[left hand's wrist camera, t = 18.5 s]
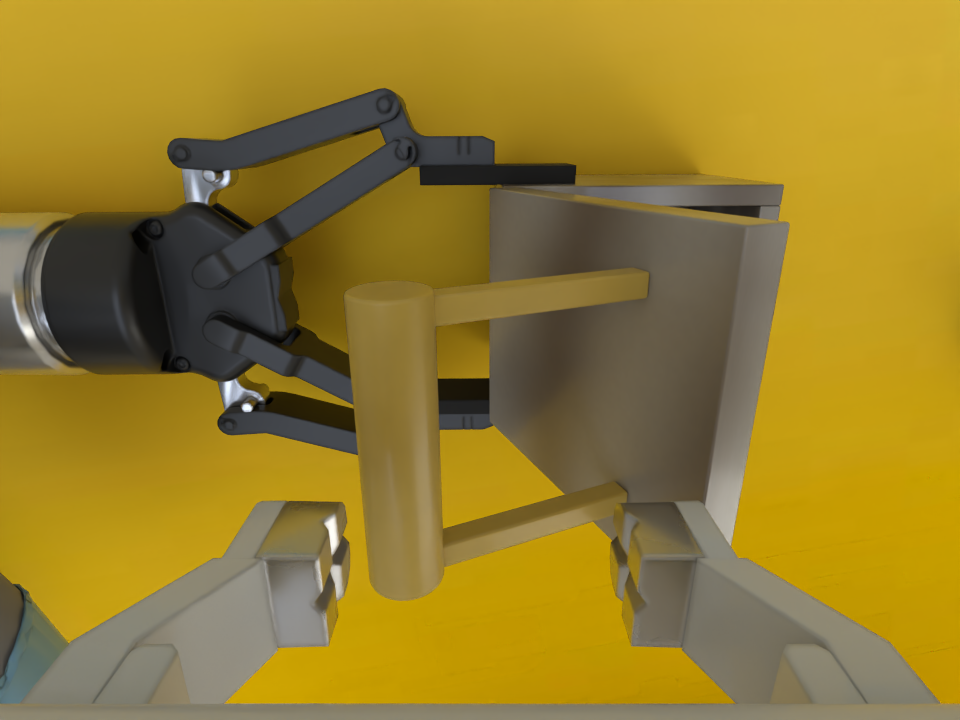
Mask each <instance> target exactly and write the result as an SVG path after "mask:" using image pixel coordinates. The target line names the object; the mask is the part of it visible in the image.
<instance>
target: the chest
mask: <svg viewBox="0 0 960 720" xmlns="http://www.w3.org/2000/svg"><path fill="white" fill-rule="evenodd" d="M505 187H521V188H528V189H536V190H544V191H552V192H560V193H567V194H575V195H583V196H591V197H598V198H606V199H614V200H622V201H629V202H637V203H645V204H653V205H660V206H668V207H676V208H684V209H691V210H699V211H707V212H715V213H722V214H730V215H738V216H746V217H753V218H761V219H769V220H777V221H778V217H779V211H780V206H779V205H780V204H781V199H782V194H783V188H784V185H783V184H776V183H768V182H760V181H752V180H744V179H736V178H729V177H721V176H713V175H705V174H641V175H576V179H575V184H502V185H496V188H505Z"/></svg>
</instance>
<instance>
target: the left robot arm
mask: <svg viewBox="0 0 960 720" xmlns="http://www.w3.org/2000/svg"><path fill="white" fill-rule="evenodd" d="M346 524H347V518H346V510H345V506H344V504H343V502H313V501H289V502H288V501H261V502H259V503H257V504H256V505H255V507H254V508H253V510H252V511H251V513H250V515H249V516H248V518H247V519H246V521H245V522H244V524H243V526H242V527H241V529H240V530H239V532H238V533H237V535H236V537H235V538H234V540H233V541H232V543H231V544H230V546H229V548H228V549H227V551H226V552H225V554H224V555H223V557H222V558H213V559H211V560H209V561H208V562H206V563H204V564H203V565H201V566H199V567H198V568H196V569H194V570H192V571H191V572H189V573H187V574H186V575H184V576H182V577H180V578H179V579H177V580H175V581H174V582H172V583H170V584H168V585H167V586H165V587H163V588H162V589H160V590H158V591H156V592H155V593H153V594H151V595H150V596H148V597H146V598H144V599H143V600H141V601H139V602H138V603H136V604H134V605H133V606H131V607H129V608H127V609H126V610H124V611H122V612H121V613H119V614H117V615H115V616H114V617H112V618H110V619H109V620H107V621H105V622H103V623H102V624H100V625H98V626H97V627H95V628H93V629H91V630H90V631H88V632H86V633H85V634H83V635H81V636H80V637H78V638H76V639H74V640H73V641H71V642H70V643H69V645H68V646H67V647H66V648H65V649H64V651H63V652H62V653H61V654H60V655H59V657H58V658H57V659H56V660H55V661H54V663H53V664H52V665H51V666H50V667H49V669H48V670H47V671H46V672H45V673H44V675H43V676H42V677H41V678H40V679H39V681H38V682H37V683H36V684H35V685H34V687H33V688H32V689H31V690H30V691H29V693H28V694H27V695H26V696H25V697H24V699H23V700H22V701H21V702H20V703H19V704H0V720H960V704H941V703H940V702H939V701H938V700H937V699H936V697H935V696H934V695H933V694H932V692H931V691H930V690H929V689H928V688H927V686H926V685H925V684H924V683H923V682H922V680H921V679H920V678H919V677H918V676H917V674H916V673H915V672H914V671H913V670H912V668H911V667H910V666H909V665H908V664H907V662H906V661H905V660H904V659H903V657H902V656H901V655H900V654H899V653H898V651H897V650H896V649H895V648H894V647H893V645H892V644H891V643H890V642H889V641H887V640H885V639H883V638H882V637H880V636H878V635H877V634H875V633H873V632H872V631H870V630H868V629H866V628H865V627H863V626H861V625H860V624H858V623H856V622H854V621H853V620H851V619H849V618H848V617H846V616H844V615H843V614H841V613H839V612H837V611H836V610H834V609H832V608H831V607H829V606H827V605H826V604H824V603H822V602H820V601H819V600H817V599H815V598H814V597H812V596H810V595H808V594H807V593H805V592H803V591H802V590H800V589H798V588H797V587H795V586H793V585H791V584H790V583H788V582H786V581H785V580H783V579H781V578H779V577H778V576H776V575H774V574H773V573H771V572H769V571H768V570H766V569H764V568H762V567H761V566H759V565H757V564H756V563H754V562H752V561H751V560H749V559H747V558H738V557H737V555H736V554H735V552H734V551H733V549H732V548H731V546H730V545H729V543H728V541H727V540H726V538H725V537H724V535H723V534H722V532H721V531H720V529H719V527H718V526H717V524H716V523H715V521H714V520H713V518H712V517H711V515H710V514H709V512H708V510H707V509H706V507H705V506H704V504H703V503H702V502H700V501H671V502H638V503H616V506H615V509H614V517H613V524H614V527H615V530H616V532H617V536H616V538H615V539H614V540H613V541H612V542H611V549H610V570H611V578H612V584H613V588H614V591H615V595H616V596H617V597H618V598H619V599H620V600H622V601H623V608H622V618H623V621H624V624H625V627H626V630H627V634H628V637H629V640H630V643H631V646H644V647H679V648H682V650H683V651H684V652H685V653H686V654H687V655H688V656H689V657H690V658H691V659H692V660H693V661H694V662H695V663H696V664H697V665H698V666H699V667H700V668H701V669H702V670H703V671H704V672H705V673H706V674H707V675H708V676H709V677H710V678H711V679H712V680H713V681H714V682H715V683H716V684H717V685H718V686H719V687H720V688H721V689H722V690H723V691H724V692H725V693H726V694H727V695H728V696H729V697H730V698H731V699H732V700H733V701H734V702H735V703H736V704H224V703H225V702H226V701H227V700H228V699H229V698H230V697H231V696H232V695H233V694H234V693H235V692H236V691H237V690H238V689H239V688H240V687H241V686H242V685H243V684H244V683H245V682H246V681H247V680H248V679H249V678H250V677H251V676H252V675H253V674H254V673H255V672H256V671H257V670H258V669H259V668H260V667H262V666H263V665H264V664H265V663H266V662H267V661H268V660H269V659H270V658H271V657H272V656H273V655H274V654H275V653H276V652H277V651H278V649H277V648H280V647H315V646H329V643H330V640H331V637H332V634H333V630H334V627H335V624H336V621H337V618H338V608H337V601H338V600H340V599H341V598H342V597H343V596H344V594H345V591H346V587H347V584H348V577H349V570H350V548H349V542H348V541H347V540H346V539H345V538H344V536H343V532H344V530H345V527H346Z"/></svg>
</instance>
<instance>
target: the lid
mask: <svg viewBox="0 0 960 720" xmlns="http://www.w3.org/2000/svg"><path fill="white" fill-rule="evenodd" d="M789 226H790V225H789V223H788V222H784V221H777V220H769V219H761V218H753V217H746V216H738V215H730V214H722V213H715V212H707V211H699V210H691V209H684V208H676V207H668V206H660V205H653V204H645V203H637V202H629V201H622V200H614V199H606V198H598V197H591V196H583V195H575V194H567V193H560V192H552V191H544V190H536V189H528V188H521V187H505V188H490V283H484V284H475V285H465V286H456V287H447V288H438V289H433V288H432V287H430V286H428V285H426V284H422V283H418V282H411V281H379V282H371V283H365V284H361V285H357V286H355V287H352V288H350V289H348V290H346V291H345V293H344V307H345V318H346V329H347V340H348V351H349V361H350V372H351V383H352V394H353V404H354V415H355V426H356V437H357V448H358V458H359V469H360V480H361V491H362V501H363V512H364V523H365V534H366V544H367V555H368V566H369V577H370V582H371V585H372V586H373V588H374V589H375V590H376V591H377V592H378V593H379V594H380V595H382V596H384V597H386V598H388V599H392V600H398V601H406V600H413V599H417V598H420V597H423V596H425V595H427V594H429V593H430V592H432V591H433V590H434V589H435V588H436V587H437V586H438V585H439V584H440V582H441V580H442V578H443V575H444V567H446V566H449V565H453V564H456V563H459V562H462V561H466V560H469V559H472V558H475V557H479V556H482V555H485V554H488V553H492V552H495V551H498V550H501V549H505V548H508V547H511V546H515V545H518V544H521V543H524V542H528V541H531V540H534V539H537V538H541V537H544V536H547V535H550V534H554V533H557V532H560V531H563V530H567V529H570V528H573V527H576V526H580V525H583V524H586V523H589V522H594V523H595V524H596V525H597V526H598V527H599V528H600V529H601V530H602V531H603V532H604V533H605V534H606V535H607V536H608V537H609V538H610V539H611V540H612V541H613V540H614V539H615V538H616V536H617V532H616V530H615V527H614V524H613V517H614V509H615V506H616V503H638V502H671V501H700V502H702V503H703V504H704V506H705V507H706V509H707V510H708V512H709V514H710V515H711V517H712V518H713V520H714V521H715V523H716V524H717V526H718V527H719V529H720V531H721V532H722V534H723V535H724V537H725V538H726V540H727V541H728V543H729V545H730V546H731V543H732V538H733V533H734V527H735V522H736V516H737V511H738V505H739V500H740V494H741V489H742V483H743V478H744V472H745V467H746V461H747V456H748V450H749V445H750V439H751V434H752V429H753V423H754V418H755V412H756V407H757V401H758V396H759V390H760V385H761V379H762V374H763V368H764V363H765V357H766V352H767V346H768V341H769V335H770V330H771V324H772V319H773V314H774V308H775V303H776V297H777V292H778V286H779V281H780V275H781V270H782V264H783V259H784V253H785V248H786V242H787V237H788V231H789ZM489 319H490V422H491V423H492V424H493V425H494V426H495V427H496V428H497V429H498V430H499V431H500V432H501V433H502V434H503V435H504V436H505V437H506V438H507V439H509V440H510V441H511V442H512V443H513V444H514V445H515V446H516V447H517V448H518V449H519V450H520V451H521V452H522V453H523V454H524V455H525V456H526V457H527V458H528V459H529V460H530V461H531V462H532V463H533V464H534V465H535V466H536V467H537V468H538V469H539V470H540V471H541V472H542V473H543V474H545V475H546V476H547V477H548V478H549V479H550V480H551V481H552V482H553V483H554V484H555V485H556V486H557V487H558V488H559V489H560V490H561V491H562V492H563V493H564V494H565V495H562V496H559V497H555V498H552V499H548V500H544V501H541V502H537V503H534V504H530V505H527V506H523V507H519V508H516V509H512V510H509V511H505V512H502V513H498V514H494V515H491V516H487V517H484V518H480V519H477V520H473V521H469V522H466V523H462V524H459V525H455V526H452V527H448V528H444V529H443V522H442V493H441V464H440V435H439V407H438V378H437V349H436V327H437V326H444V325H452V324H459V323H467V322H474V321H481V320H489Z"/></svg>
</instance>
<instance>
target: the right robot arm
mask: <svg viewBox="0 0 960 720" xmlns="http://www.w3.org/2000/svg"><path fill="white" fill-rule="evenodd" d="M378 128H380V130H381V133H382V135H383V138H384V140H385V143H386V145H384V146H383V147H381V148H379V149H378V150H376V151H375V152H373V153H372V154H370V155H368V156H367V157H365V158H364V159H362V160H361V161H359V162H358V163H356V164H354V165H353V166H351V167H350V168H348V169H347V170H345V171H344V172H342V173H340V174H339V175H337V176H336V177H334V178H333V179H331V180H330V181H328V182H326V183H325V184H323V185H322V186H320V187H319V188H317V189H316V190H314V191H312V192H311V193H309V194H308V195H306V196H305V197H303V198H301V199H300V200H298V201H297V202H295V203H294V204H292V205H291V206H289V207H287V208H286V209H284V210H283V211H281V212H280V213H278V214H276V215H275V216H273V217H271V218H269V219H268V220H266V221H264V222H262V223H261V224H259V225H258V226H256V227H254V226H252V225H251V224H249V223H248V222H246V221H245V220H243V219H242V218H240V217H239V216H237V215H236V214H234V213H233V212H231V211H230V210H228V209H227V208H225V207H224V206H222V205H221V204H219V203H217V196H218V193H219V192H220V191H221V190H223V189H224V188H229V187H232V186H234V185H235V184H236V183H237V181H238V169H246V168H254V167H259V166H263V165H266V164H269V163H273V162H276V161H279V160H282V159H285V158H288V157H291V156H294V155H297V154H300V153H304V152H307V151H310V150H313V149H316V148H319V147H322V146H325V145H328V144H331V143H335V142H338V141H341V140H344V139H347V138H350V137H353V136H356V135H359V134H362V133H366V132H369V131H372V130H375V129H378ZM494 148H495V141H493V140H490V139H488V138H486V137H483V136H423V135H421V134H419V133H418V132H417V131H416V130H415V129H414V127H413V125H412V123H411V120H410V117H409V115H408V112H407V110H406V105H405V102H404V100H403V99H402V98H401V97H400V96H399V95H397V94H396V93H394V92H393V91H391V90H389V89H386V88H383V89H377V90H374V91H371V92H368V93H365V94H362V95H359V96H356V97H353V98H350V99H347V100H344V101H341V102H338V103H335V104H332V105H329V106H326V107H323V108H320V109H317V110H314V111H311V112H308V113H305V114H302V115H298V116H295V117H292V118H289V119H286V120H283V121H280V122H277V123H274V124H271V125H268V126H265V127H262V128H259V129H256V130H253V131H250V132H247V133H244V134H241V135H238V136H235V137H232V138H229V139H226V140H219V139H200V138H177V139H174V140H172V141H171V142H170V143H169V145H168V150H167V153H168V156H169V159H170V160H171V162H172V163H173V164H174V165H175V166H177V167H178V168H182V176H183V184H184V193H185V202H186V203H185V204H183V205H181V206H179V207H178V208H176V209H175V210H173V211H171V212H87V213H81V214H78V215H73V214H69V213H66V212H46V213H0V375H1V374H7V375H81V374H87V373H90V372H92V373H96V374H174V373H187V372H190V373H196V374H200V375H203V376H205V377H207V378H209V379H212V380H214V381H218V385H219V389H220V393H221V397H222V401H223V404H224V408H225V411H224V413H223V414H222V415H221V416H220V417H219V419H218V427H219V429H220V430H221V431H222V432H223V433H225V434H227V435H243V434H258V433H268V434H273V435H277V436H281V437H285V438H289V439H293V440H297V441H302V442H306V443H310V444H314V445H318V446H322V447H327V448H331V449H335V450H339V451H343V452H347V453H351V454H356V455H358V448H357V437H356V426H355V415H354V409H353V408H349V407H345V406H341V405H336V404H332V403H328V402H324V401H320V400H316V399H312V398H308V397H304V396H300V395H296V394H292V393H287V392H277V391H275V392H270V391H269V387H268V386H267V385H266V384H258V383H253V382H251V381H250V380H248V379H247V377H246V376H245V372H246V371H247V370H249V369H250V368H251V367H253V366H254V365H255V364H257V363H258V364H260V365H262V366H264V367H266V368H268V369H270V370H272V371H274V372H276V373H278V374H280V375H283V376H287V377H291V376H294V377H298V378H300V379H302V380H304V381H306V382H308V383H310V384H312V385H314V386H316V387H318V388H320V389H322V390H324V391H326V392H328V393H330V394H333V395H335V396H337V397H339V398H341V399H343V400H345V401H347V402H349V403H351V404H353V394H352V383H351V372H350V361H349V354H347V353H345V352H343V351H341V350H339V349H337V348H335V347H333V346H331V345H329V344H327V343H325V342H323V341H321V340H320V339H318V337H317V336H316V334H315V333H313V332H312V331H310V330H308V329H306V328H304V327H302V326H300V325H298V324H296V322H297V321H298V320H299V312H298V304H297V302H296V299H295V297H294V294H293V292H292V289H291V287H292V280H293V274H294V271H293V263H292V257H288V256H287V254H286V252H285V251H284V249H283V247H285V246H286V245H288V244H289V243H291V242H292V241H294V240H296V239H297V238H299V237H300V236H302V235H304V234H305V233H306V232H308V231H310V230H311V229H313V228H314V227H316V226H317V225H319V224H321V223H322V222H324V221H325V220H327V219H329V218H330V217H332V216H333V215H335V214H337V213H338V212H340V211H341V210H343V209H345V208H346V207H348V206H349V205H351V204H353V203H354V202H356V201H357V200H359V199H360V198H362V197H364V196H365V195H367V194H368V193H370V192H372V191H373V190H375V189H376V188H378V187H380V186H381V185H383V184H384V183H386V182H388V181H389V180H391V179H392V178H394V177H396V176H397V175H399V174H400V173H402V172H403V171H405V170H407V169H408V168H410V167H420V185H502V184H575V179H576V165H572V164H567V163H555V164H494ZM353 405H354V404H353ZM438 407H439V430H452V429H485V428H488V427H491V426H493V424H492V423H491V422H490V378H480V379H438ZM68 645H69V643H68V642H67V641H66V640H65V638H64V637H63V636H62V635H61V634H60V632H59V631H58V630H57V629H56V628H55V627H54V625H53V624H52V623H51V622H50V621H49V619H48V618H47V617H46V616H45V615H44V613H43V612H42V611H41V610H40V609H39V607H38V606H37V605H36V604H35V603H34V602H33V600H32V598H31V597H30V595H29V592H28V591H26V590H25V589H24V588H23V587H22V586H21V585H20V584H12V583H11V582H10V581H9V580H8V579H7V578H6V577H4V576H3V575H2V574H1V573H0V704H19V703H20V702H21V701H22V700H23V699H24V697H25V696H26V695H27V694H28V693H29V691H30V690H31V689H32V688H33V687H34V685H35V684H36V683H37V682H38V681H39V679H40V678H41V677H42V676H43V675H44V673H45V672H46V671H47V670H48V669H49V667H50V666H51V665H52V664H53V663H54V661H55V660H56V659H57V658H58V657H59V655H60V654H61V653H62V652H63V651H64V649H65V648H66V647H67V646H68Z"/></svg>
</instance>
